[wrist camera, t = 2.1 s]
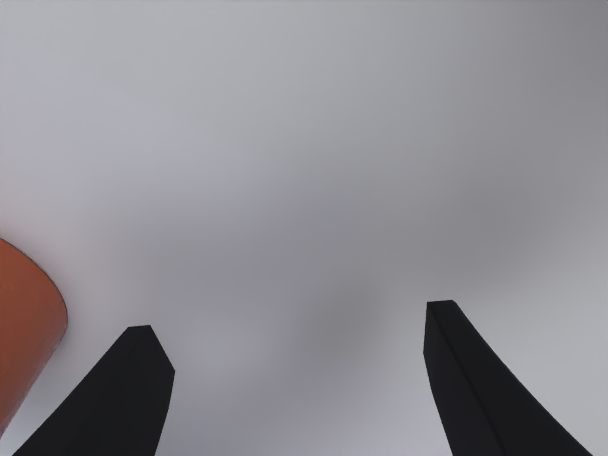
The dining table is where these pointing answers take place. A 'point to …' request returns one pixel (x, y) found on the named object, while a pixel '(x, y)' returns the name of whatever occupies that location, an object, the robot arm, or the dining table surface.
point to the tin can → (25, 327)
